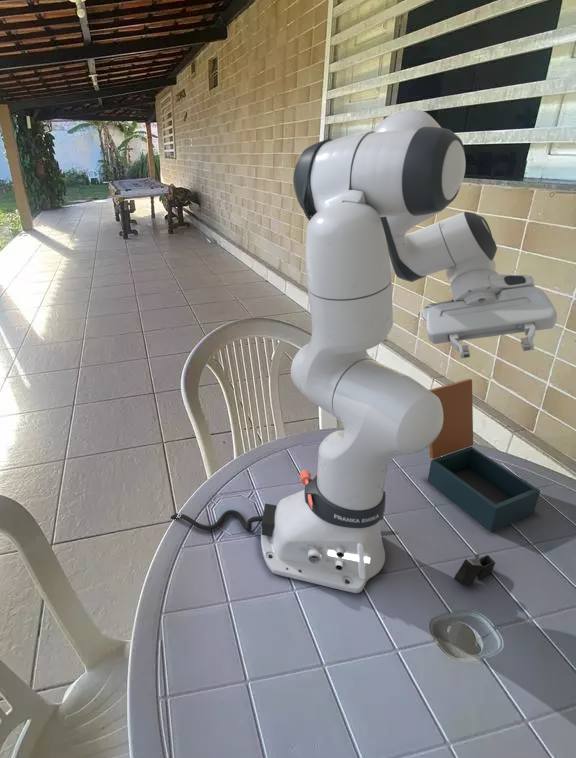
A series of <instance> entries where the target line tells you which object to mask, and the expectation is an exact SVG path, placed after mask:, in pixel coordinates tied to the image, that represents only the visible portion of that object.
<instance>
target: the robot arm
mask: <svg viewBox="0 0 576 758" xmlns="http://www.w3.org/2000/svg"><path fill="white" fill-rule="evenodd" d="M464 146H465V145H464V143H463V141H462V139H461V138H460V137H459V136H458V135H457V134H456V133H455V132H454V131H452V130H451V129H449V128H444V127H442V126H441V125H440V124H439V123H438V122H437V121H436V119H434V118H433V116H431V115H430V114H429V113H427V112H426V111H424V110H421V109H417V108H406V109H401V110H398V111H396V112H393V113H391V114H389V115H388V116H386V117H385V118H383V120H381V121H380V122H379V123H378V125H376V126H375V128H374V129H373V130H371V131H365V132H359V133H355V134H349V135H347V136H346V135H345V136H342V137H339V138H335V139H332V138H331V139H330V138H327V139H324V140H321V141H317V142H316V143H313V144H312V145H310V146H308V147H307V148H305V149H304V150H303V151H302V152H301V154H300V155H299V158H298V160H297V162H296V165H295V167H294V170H293V179H292V181H293V191H294V193H295V197H296V200H297V202H298V204H299V206H300V208H301V209H302V210H303V213H304V215H305V217H306V218H307V220H308V221H309V222H308V224H307V227H306V234H305V249H304V250H305V251H304V254H305V255H304V258H305V260H304V261H305V278H306V287H307V294H308V301H309V311H310V320H311V337H310V340H309V342H308V343H306V344H305V345H303V346H302V347H301V348H300V349H299V350H298V351H297V353H296V354H295V356H294V357H293V360H292V362H291V366H290V367H291V368H290V379H291V381H292V383H293V384H294V386H295V387H296V388H297V389H298V390H299V391H300V392H301V393H302V395H303V396H305V398H306V399H308V400H309V402H311V403H313V404H314V405H316V406H318V407H319V408H320V409H322V410H323V411H325V412H327V413H328V414H330V415H332V417H334V418H336V419H338V421H340V423H341V424H342V426H343V429H339V430H335V431H333V432H330V433H329V434H328V435H327V436H326V437H324V439H323V440H322V441H321V442H320V444H319V447H318V450H317V451H318V452H317V468H316V470H317V471H316V475H315V476H314V477H313V478H312V473H311V472H310V471H309V470H308V469H307V470H306V469H303V470H301V471H300V473H299V477H300V483H301V484H302V485H304V489H302V490H299V491H297V492H295V493H293V494H290V495H287V496H285V497H283V498H281V499H280V501H278V503H277V504H271V503H265V504H264V508H263V514H262V515H260V516H256V515H255V516H251V517H250V518H248V520H247V521H245V519H244V517H243V515H242V514H241V513H240V512H239V511H237V510H235V509H229V510H226V511H224V512H223V513H222V514H221V516H220V517H219V518H218V520H217V521H216V522H215V523H213V524H210V525H205V524H202V523H199V522H198V521H196V520H194V519H193V518H192V517H189V516H188V515H186V514H184V513H181V514H182V515H181V517H180V518H179V519H182V520H184V521H185V522H187V523H189V524H190V525H192V526H194V527H195V528H197V529H199V530H202V531H214V530H216V529H218V528H219V527H220V526H222V524H223V523H224V521H225V519H226V518H228V516H233V515H234V516H235V517H237V520H238V522H239V523H240V525H241V526H242V527H243V529H244V530H245V531H251V529H252V527H253V525H252V524H253V523H256V522H261V530H260V548H261V552H262V556H263V560H264V562H265V564H266V566H267V567H268V569H269V571H270V572H271V573H272V574H274V575H277V576H281V577H285V578H288V579H289V578H290V579H293V580H297V581H303V582H306V583H310V584H314V585H319V586H323V587H327V588H331V589H336V590H340V591H344V592H347V593H352V594H360V593H362V591H363V590H364V588H365V586H366V584H367V582H368V581H369V580H370V579H371V578H374V577H375V576H377V575H378V573H379V572H380V571H381V570H382V569H383V567H384V565H385V562H386V551H385V547H384V543H383V535H382V520H383V519H384V514H385V512H386V504H387V503H386V502H387V501H386V499H387V497H386V496H387V495H386V494H387V493H386V491H385V485H386V479H387V474H388V470H389V466H390V463H391V461H392V460H393V459H394V458H395V457H397V456H401V455H403V456H404V455H413V454H416V453H419V452H422V451H424V450H426V449H427V448H429V447H430V445H431V444H432V443H433V442H434V441H435V440H436V438H437V437H438V435H439V433H440V431H441V429H442V425H443V408H442V404H441V401H440V399H439V398H438V397H437V396H436V395H435V394H433V393H432V392H431V391H429V390H430V389H428V388H427V387H425V386H424V385H423V384H421V383H420V382H418V380H415V379H414V378H413V377H411V376H409V375H406V374H405V373H402V372H400V371H399V370H396V369H393V368H392V367H389V366H387V365H385V364H382V363H380V362H378V361H376V360H374V359H373V358H371V356H370V355H369V353H368V350H371V349H373V348H375V347H377V346H379V345H380V344H381V343H382V342H384V341H385V339H386V338H387V337H388V335H390V332H391V331H392V328H393V325H394V308H393V286H392V285H393V284H392V272H393V274H394V275H395V276H396V277H397V278H399V279H401V280H403V281H406V282H410V283H413V282H415V281H417V280H421V279H423V278H426V277H428V276H429V275H433V274H436V273H438V272H442V271H445V275H446V278H447V280H448V281H449V282H450V283H449V291H450V293H451V298H452V299H449V300H443V301H439V302H431V303H429V304H428V305H427V306H424V308H422V310H421V317H422V319H423V321H424V322H425V323H426V333H427V338H428V341H429V342H431V343H432V344H434V345H438V344H446V343H450V346H451V347H452V348H454V349H455V350H456V351H457V352H458V353H459V356H460V358H461V359H467V358H471V352H470V348H469V346H468V344H466V345H463V344H462V343H460V341H469V340H476V339H483V338H490V337H491V338H492V337H498V336H505V335H506V336H507V335H513V334H520V333H524V335H525V336H526V337H521V338H520V347H521V349H522V351H523V352H526V351H528V352H529V351H534V349H535V346H534V342H533V340H534V338H535V336H536V332H537V331H543V330H549V329H550V330H551V329H553V328H554V327H555V325H556V324H557V321H558V313H557V309H556V308H555V306H554V304H553V302H552V301H551V299H550V297H549V296H548V295H547V294H546V292H545V291H544V290H543V289H542V288H540V287H537V286H536V285H535V279H534V278H533V276H531V275H528V274H502V273H498V272H497V270H496V262H495V259H494V258H495V256H496V254H497V251H498V247H497V244H496V241H495V240H494V237H493V235H492V230H491V228H490V225H489V224H488V221H487V220H486V219H485V217H484V216H481V215H479V214H477V213H475V212H472V211H463V212H460V213H457V214H455V215H452V216H449V217H447V218H445V219H444V218H443V219H441V220H439V221H437V222H434V223H432V224H430V225H427V226H425V227H422V228H420V229H417V230H415V231H412V232H409V231H410V230H412V229H413V228H414V227H416V226H417V225H419V224H421V223H423V222H425V221H427V220H429V219H430V218H433V217H434V216H436V215H438V214H440V213H441V212H443V211H444V210H445V209H446V208H447V207H448V206H449V205H450V204H452V202H453V201H455V199H456V197H457V196H458V194H459V192H460V190H461V186H462V183H463V181H464V177H465V174H466V165H467V164H466V162H467V161H466V153H465V147H464ZM408 232H409V233H408ZM178 513H179V512H177V513H174V514H172V515H171V516H170V519H171V520H175V519H177V518H176V517H177V515H178ZM179 516H180V515H179Z"/></svg>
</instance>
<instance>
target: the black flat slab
mask: <svg viewBox="0 0 576 758" xmlns="http://www.w3.org/2000/svg"><path fill="white" fill-rule="evenodd" d="M455 475H456V476H457V477H459V478H460V479H461V480H463V481H464V482H466V483H467V484H468V485H470V486H471V487H472V488H474V489H475V490H476V491H478V492H479V493H481V494H482V495H483V496H485V497H486V498H487V499H489V500H490V501H491V502H493V503H494V504H498V503H500V502H503V501H505V500H508V499H510V498H511V497H510V496H508V495H507V494H506V493H504V492H503V491H501V490H500V489H498V488H497V487H495V486H494V485H493V484H491V483H490V482H488V481H487V480H485V479H484V478H482V477H481V476H480V475H478V474H477V473H475V472H474V471H472V470H471V469H470V468H469V469H466V470H463V471H461V472H458V473H455Z"/></svg>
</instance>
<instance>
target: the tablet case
mask: <svg viewBox="0 0 576 758" xmlns="http://www.w3.org/2000/svg"><path fill="white" fill-rule="evenodd" d="M469 468H470V469H471V470H472V471H474V472H475V473H477V474H478V475H480V476H481V477H482V478H484V479H485V480H487V481H488V482H490V483H491V484H493V485H494V486H495V487H497V488H498V489H500V490H501V491H503V492H504V493H506V494H507V495H508V496H510V497H511V498H510V499H508V500H505V501H503V502H500V503H498V504H494V503H493V502H491V501H490V500H489V499H487V498H486V497H485V496H483V495H482V494H481V493H479V492H478V491H476V490H475V489H474V488H472V487H471V486H470V485H468V484H467V483H466V482H464V481H463V480H461V479H460V478H459V477H457V476H456V475H455V473H458V472H461V471H463V470H466V469H469ZM427 482H428V483H429V484H430V486H431V485H432V486H433V487H434V488H435V489H436V490H438V491H439V493H441V494H443V495H444V496H445V497H447V499H448V500H450V501H451V502H453V504H455V505H456V506H457V507H459V508H460V509H461V510H463V511H464V512H465V513H466V514H467V515H469V516H470V517H471V518H472V519H474V520H475V521H476V522H477V523H479V524H480V525H481V526H483V528H485V529H486V530H488V532H494V531H496V530H498V529H501V528H503V527H505V526H507V525H511V524H512V523H514V522H517V521H519V520H521V519H524V518H527V517H529V516H530V515H533V514H534V513H535V510H536V507H537V503H538V500H539V496H540V493H541V490H540V489H538V488H537V487H535V486H534V485H532V483H529V482H528V481H527V480H524V479H523V478H522V477H519V476H518V475H517V474H515V473H514V472H512V471H511V470H509V469H507V468H506V467H505V466H503V465H501V464H499V463H498V462H497V461H495V460H494V459H492V458H491V457H489V456H487V455H486V454H484V453H482V451H479V450H478V449H476V448H475V447H473V446H469V447H467V448H464V449H461V450H458V451H455V452H452V453H449V454H446V455H443V456H440V457H437V458H434V459H431V460H430V466H429V469H428V476H427Z"/></svg>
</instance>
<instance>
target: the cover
mask: <svg viewBox="0 0 576 758" xmlns="http://www.w3.org/2000/svg"><path fill="white" fill-rule="evenodd" d="M428 390H429V391H431V392H432V393H433V394H435V395H436V396H437V397H438V398H439V399H440V401H441V404H442V408H443V425H442V429H441V431H440V433H439V435H438V437H437V438H436V440H435V441H434V442H433V443H432V444H431V445H430V446H429V458H430V459H431V460H433V459H436V458H439V457H442V456H445V455H448V454H451V453H453V452H456V451H459V450H462V449H465V448H468V447H473V446H474V411H473V410H474V409H473V404H474V403H473V379H471V378H467V379H462V380H459V381H455V382H451V383H448V384H445V385H441V386H438V387H434V388H431V389H428Z"/></svg>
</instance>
